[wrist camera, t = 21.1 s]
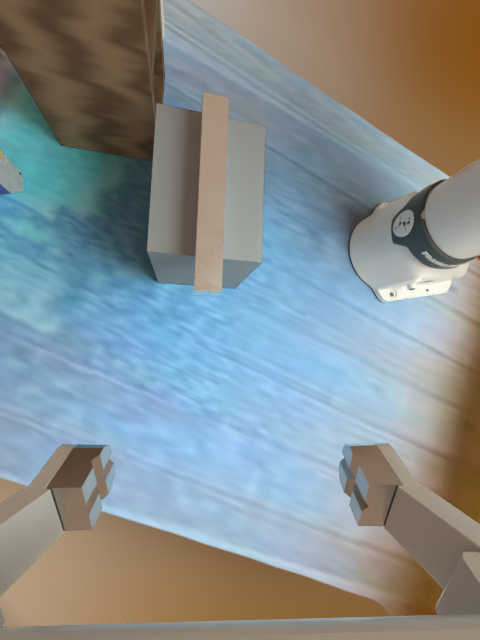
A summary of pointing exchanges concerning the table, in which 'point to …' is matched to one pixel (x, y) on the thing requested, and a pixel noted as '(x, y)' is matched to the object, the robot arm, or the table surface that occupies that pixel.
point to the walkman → (10, 176)
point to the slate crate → (182, 190)
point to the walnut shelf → (90, 68)
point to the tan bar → (211, 196)
